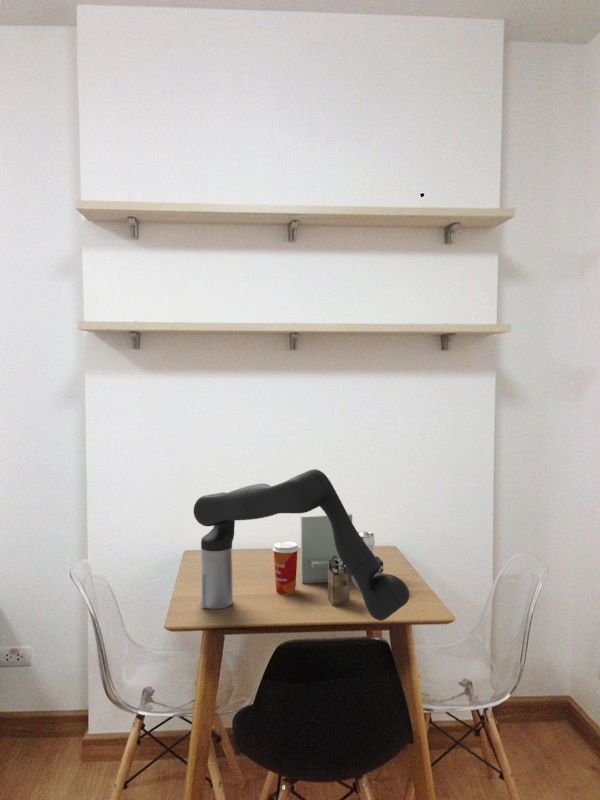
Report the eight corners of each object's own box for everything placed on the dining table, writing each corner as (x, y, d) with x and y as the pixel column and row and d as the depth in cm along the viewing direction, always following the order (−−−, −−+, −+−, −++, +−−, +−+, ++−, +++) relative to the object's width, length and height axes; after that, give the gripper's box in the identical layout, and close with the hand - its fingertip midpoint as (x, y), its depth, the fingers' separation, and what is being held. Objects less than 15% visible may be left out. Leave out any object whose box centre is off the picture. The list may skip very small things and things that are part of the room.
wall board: (305, 589, 201) (305, 521, 200) (299, 578, 212) (299, 513, 210) (356, 585, 205) (356, 518, 204) (348, 575, 215) (348, 511, 214)
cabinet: (333, 607, 186) (333, 567, 185) (327, 599, 193) (327, 560, 192) (350, 606, 187) (350, 566, 186) (343, 597, 194) (343, 559, 193)
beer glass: (350, 579, 210) (350, 535, 209) (357, 573, 217) (358, 530, 216) (370, 582, 207) (370, 537, 207) (377, 576, 214) (377, 532, 213)
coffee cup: (269, 588, 202) (269, 542, 201) (293, 585, 205) (293, 540, 204) (277, 597, 194) (277, 549, 193) (302, 594, 197) (302, 546, 196)
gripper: (392, 559, 164) (372, 543, 180) (339, 563, 161) (324, 546, 177) (392, 588, 164) (373, 569, 180) (339, 592, 162) (324, 572, 177)
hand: (348, 558), depth 179 cm, fingers open, 8 cm apart
